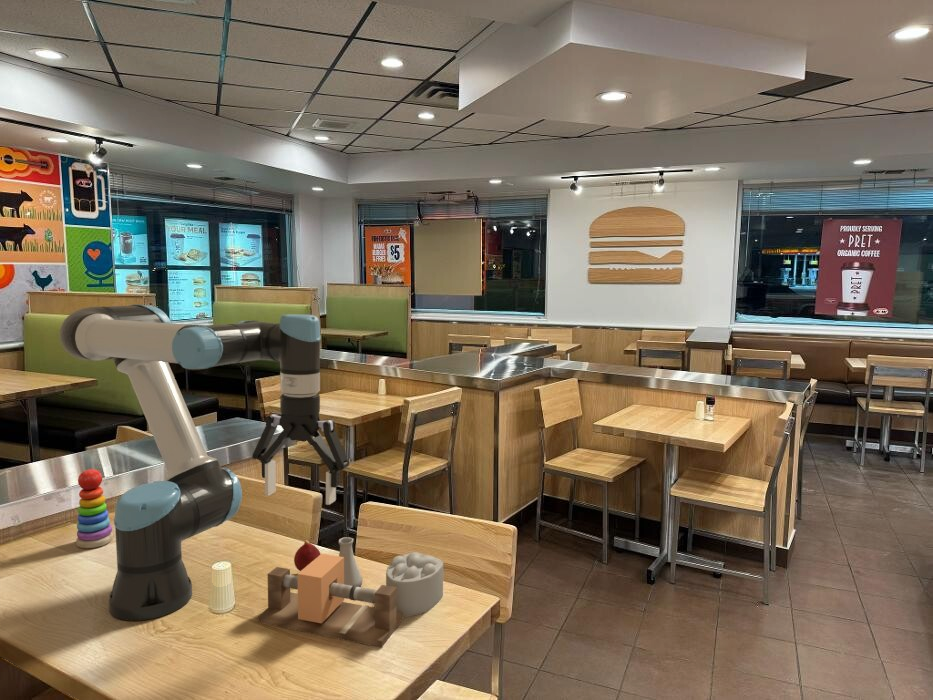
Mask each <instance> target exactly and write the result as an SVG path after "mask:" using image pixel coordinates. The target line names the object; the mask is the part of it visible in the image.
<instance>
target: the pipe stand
mask: <svg viewBox="0 0 933 700" xmlns="http://www.w3.org/2000/svg"><path fill="white" fill-rule="evenodd" d="M291 590H297V591H298V575H291V570H290V568H286V567H279V566H276V567H274V568H273V569H272V570H271V571H269V572H268V573H267V608H265V610H264V611H262V612H261V613H260V614H259V615H257V623H258V624H264V625H269V626H275V627H278V628H279V627H280V628H283V629H288V630H295V631H298V632H299V631H300V632H303V633H311V634H314V635H319V636H324V637H329V638H334V639H338V638H339V640H343V639H344V641H348V640H349V642H353V641H354V642H353V643H358V644H364V645H367V646H368V645H369V646H374V647H378V646H379V647H378V648H383V646H384V645H385V644H386V643H387V641H388V640H389V639H390V638H391V636H392V635H393V633H394V632H395V630H397V628H398V626H399V625H400V623H401V622H402V621H403V619H404V616H403V613H401V612H396V590H397V587H392V586H386V584H381V585H380V586H379V587H378V588H377V589H373V588H367V587H361V586H359V587H358V586H350V585H345V584H339V583H333V582H332V583H331V584H330V585H329V595H330V596H335V597H341V598H344V599H347V600H350V601H358V602H364V603H370V604H374V607H373V606H368V605H365V604H363V605H361V604H358V603H357V604H356V603H351V602H345V601H343V602H342V603H341V604H340V605H339V606H338V607H337V608H336V609H335V610H334V611H333V612H332V613H331V614H330V615H329V616H328V617H327V618H326V620H325V621H324V622H323V623H317V622H311V621H306V620H301V619H298V592H296V593H294V592H291Z"/></svg>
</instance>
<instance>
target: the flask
mask: <svg viewBox="0 0 933 700" xmlns="http://www.w3.org/2000/svg"><path fill="white" fill-rule="evenodd" d="M353 543H354V538H352V537H349V536H348V537H346V536H345V537H342V538H339V539H338V546H339V553H338V556H340V557H344V584H345V585H350V586H358V587H361V586H362V585H363V576H362V573H361V571H360V569H359V566H358V564H357V561H356V558H355V555H354V552H353V551H354V550H353Z"/></svg>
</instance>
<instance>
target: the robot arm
mask: <svg viewBox="0 0 933 700" xmlns="http://www.w3.org/2000/svg"><path fill="white" fill-rule="evenodd" d="M320 326H321V323H320V319H319V318H318V317H317V316H316V315H314V314H306V313H305V314H304V313H303V314H300V313H292V314H291V313H289V314H287V313H286V314H283V315H281V316H280V319H279V323H278V322H277V323H276V322H275V323H274V322H265V321H258V320H240V321H238V322H237V323H236V322H235V323H228V324H217V325H216V324H215V325H208V324H207V325H205V324H187V323H172V320H170V318H169V317H168V315H167V314H166V313H165V312H164V311H163V310H162V309H160V308H159V307H155V306H153V305H149V304H148V305H147V304H146V305H143V304H130V305H112V306H91V307H90V306H89V307H83V308H80V309H78V310H74V312H72V313H71V314H69V315H68V316H67V317H66V318H64V320H63V321H62V324H61V326H60V328H59V334H58V335H59V341H60V344H61V346H62V347H63V349H64V350H65V351H66V353H68V354H69V355H70V356H71V357H74V358H76V359H79V360H84V361H105V360H112V361H113V362H114V365H115V367H116V369H117V372H120V373H123V374H126V375H127V376H128V379H129V380H130V383H131V386H132V389H133V392H134V394H135V395H136V398H137V400H138V403H139V405H140V408H141V410H142V412H143V415H144V417H145V420H146V422H147V424H148V427H149V429H150V431H151V434H152V437H153V439H154V441H155V444H156V446H157V448H158V450H159V454H160V455H161V458H162V460H163V463H164V465H165V467H166V470H167V475H166V477H165V478H164V480H159V481H157V480H156V481H153V482H151V483H149V482H146V483H144V484H140V485H137V486H134V487H133V488H130V489H128V490H126V491H125V492H124V493H122V494H121V495H120V496H119V498H117V501H116V503H115V506H114V518H113V524H114V527H115V528H114V529H115V543H116V544H115V546H116V547H115V548H116V565H117V567H116V568H117V571H116V574H115V578H114V580H113V585H112V588H111V592H110V594H109V597H108V598H109V599H108V610H109V613H110V615H111V616H112V617H114V618H115V619H118V620H122V621H131V622H135V621H136V622H137V621H138V622H139V621H145V620H152V619H156V618H160V617H163V616H166V615H168V614H169V615H170V614H171V613H173V612H175V611H178V610H179V609H181V608H182V607H184V606H185V605H186V604H187V603H189V602H190V600H192V597H193V584H192V580H191V578H190V577H189V575H188V572H187V571H188V570H187V569H186V567H185V564H184V561H183V557H182V542H183V541H185V540H188V539H190V538H193V537H195V536H196V535H199V534H201V533H203V532H205V531H208V530H210V529H212V528H217V527H218V526H220V525H221V526H222V524H223V523H225V522H226V521H229V520H230V519H232V518H233V517H234V516H235V515H236V514H237V513H238V511H239V510H240V507H241V503H242V498H243V497H242V496H243V490H242V486H241V482H240V479H239V478H238V476H237V475H236V474H235V472H232V470H230V469H229V468H226V467H225V468H224V467H221V465H220V463H219V461H218V459H217V458H215V457H213V456H209V455H208V453H207V451H206V449H205V446H204V444H203V442H202V439H201V437H200V435H199V431H198V430H197V427H196V425H195V423H194V419H193V418H192V416H191V413H190V411H189V409H188V406H187V404H186V402H185V399H184V397H183V395H182V392H181V390H180V388H179V385H178V383H177V380H176V379H175V378H176V377H175V375H174V373H173V371H172V369H171V366H170V363H171V364H178V365H180V366H181V368H183V369H186V370H205V369H209V368H214V367H219V366H224V365H230V364H231V365H232V364H238V363H240V364H241V363H246V362H253V361H261V360H263V361H265V360H266V361H273V362H274V361H275V362H279V367H280V369H279V370H280V371H279V374H280V375H279V377H280V385H279V387H280V392H281V393H282V394H281V395H280V400H279V402H280V403H279V404H280V405H279V406H280V409H279V410H280V413H281V415H279V414H278V413H273V414H270V415H267V416H266V421H265V427H264V429H263V431H262V433H261V435H260V437H259V439H258V441H257V444H256V446H255V449H254V451H253V452H252V456H251V457H252V458H253V460H258V461H260V463H261V477H262V478H263V479H264V496H266V497H269V496H271V495H273V494H274V493H276V492H277V472H276V471H277V467H276V466H277V464H276V463H277V461H276V460H274V457H275V456H276V455H277V453H278V452H279V451H280V450H281V449H282V447H283V446H284V445H285V444H286V443H287V442H288V440H290V441H299V442H308V444H309V445H311V446H312V447H313V449H314V450H315V451H316V453H317V454H318V456H319V457H320V458H321V460H322V462H323V463H324V464H325V465H326V466H325V467H327V469H328V470H327V471H326V472H325V505H327V506H328V505H329V506H330V505H331V504H333V503H334V502H336V500H337V487H338V486H340V483H341V481H340V480H341V471H343V470H345V469H346V468H348V467H349V466H350V462H349V459H348V457H347V454H346V452H345V450H344V448H343V445H342V443H341V440H340V438H339V435H338V433H337V432H336V431H337V430H336V426H335V425H336V423H335V420H334V419H332V418H331V419H328V420H321V419H320V410H321V396H320V394H319V392H320V391H321V375H320V374H321V368H320V360H321V356H320V355H321V340H322V336H321V328H320ZM279 425H280V427H281V428H282V431H281V432H280V434H278V436H277V438H276V439H275V440H274V442H272V444H271V441H272V439H273V436H274V435H275V432H276V431H277V427H278V426H279ZM320 428H321V430H320V431H319V429H320ZM321 432H323V434H321ZM323 435H324V436H323ZM323 437H325V440H326V442H325V440H324V439H323ZM270 444H271V445H270ZM327 444H328V445H327Z"/></svg>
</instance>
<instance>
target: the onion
mask: <svg viewBox="0 0 933 700" xmlns="http://www.w3.org/2000/svg"><path fill="white" fill-rule="evenodd" d="M321 554H322V553H321V552H320V550H319V548H318V547H317V546H315V545H314V544H312V543H311V542H309V541H308V540H307V539H306V540H304V544H302V545H301V546H300V547H299V548H298V549H297V550H296V552H295V554H294V557H293V563H294V566H295V568H296V569H297V570H298V571H299V572H300V571H301V570H303V569H304V568H305V567H306V566H307V565H309V564H310V563H311V562H312V561H313V560H315V559H316V558H317V557H318V556H319V555H321Z"/></svg>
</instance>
